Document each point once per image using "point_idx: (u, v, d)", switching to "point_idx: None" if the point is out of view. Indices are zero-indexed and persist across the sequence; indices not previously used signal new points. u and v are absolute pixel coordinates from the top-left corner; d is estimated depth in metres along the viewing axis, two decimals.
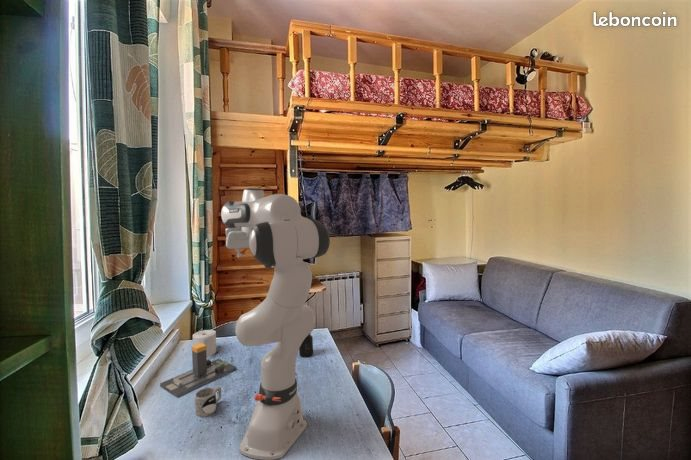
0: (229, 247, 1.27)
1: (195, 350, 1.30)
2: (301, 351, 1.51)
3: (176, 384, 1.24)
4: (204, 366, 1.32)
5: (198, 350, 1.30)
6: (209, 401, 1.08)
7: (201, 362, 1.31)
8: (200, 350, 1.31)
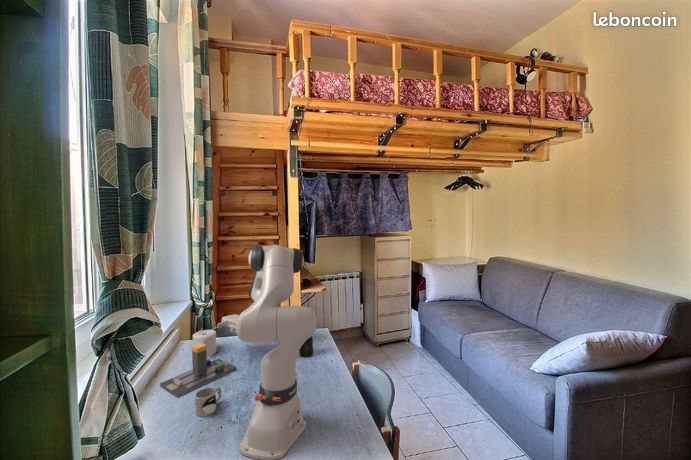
0: (223, 317, 1.51)
1: (195, 350, 1.30)
2: (301, 351, 1.51)
3: (176, 384, 1.24)
4: (204, 366, 1.32)
5: (198, 350, 1.30)
6: (209, 401, 1.08)
7: (201, 362, 1.31)
8: (200, 350, 1.31)
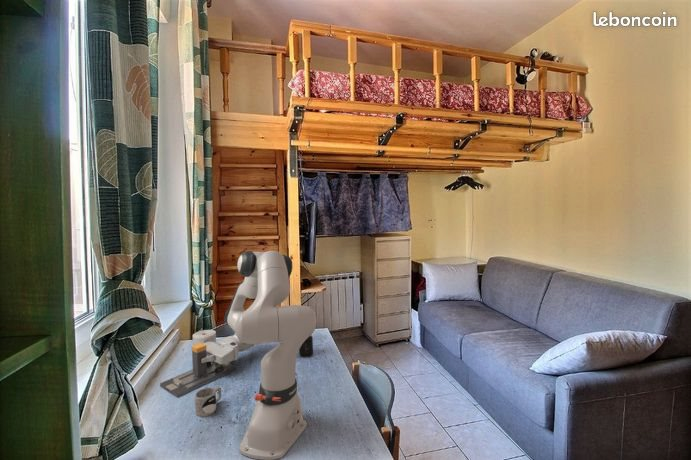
0: None
1: (195, 350, 1.30)
2: (301, 351, 1.51)
3: (176, 384, 1.24)
4: (204, 366, 1.32)
5: (198, 350, 1.30)
6: (209, 401, 1.08)
7: None
8: (200, 350, 1.31)
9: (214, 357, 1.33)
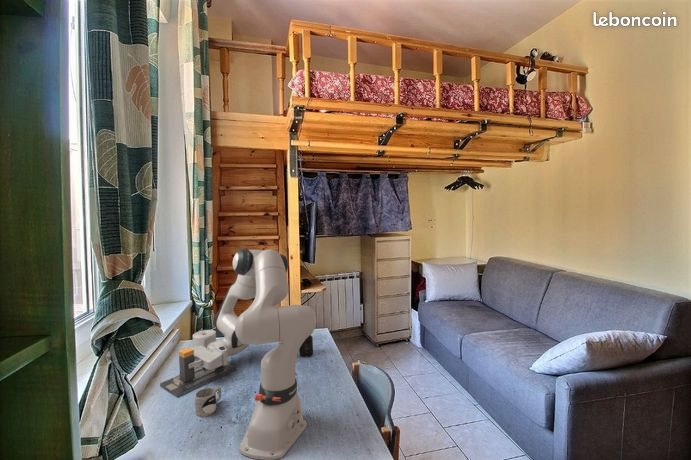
0: None
1: (182, 355, 1.26)
2: (301, 351, 1.51)
3: (176, 384, 1.24)
4: (192, 371, 1.28)
5: (185, 355, 1.26)
6: (209, 401, 1.08)
7: None
8: (187, 355, 1.26)
9: (202, 362, 1.29)
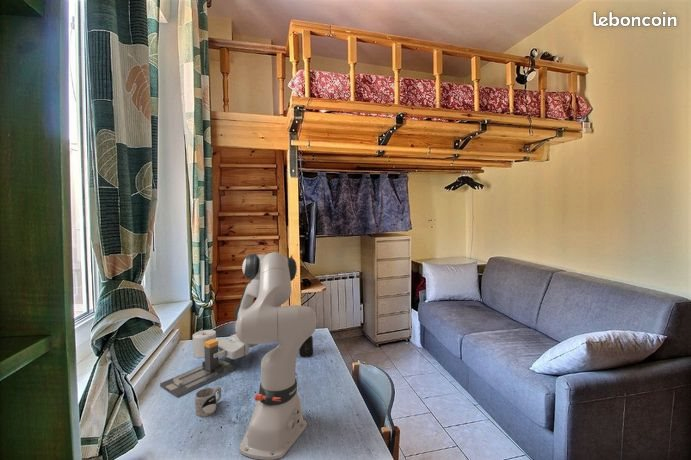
0: None
1: (208, 345, 1.34)
2: (301, 351, 1.51)
3: (176, 384, 1.24)
4: (216, 361, 1.37)
5: (210, 345, 1.34)
6: (209, 401, 1.08)
7: (213, 357, 1.36)
8: (212, 345, 1.35)
9: (225, 352, 1.38)
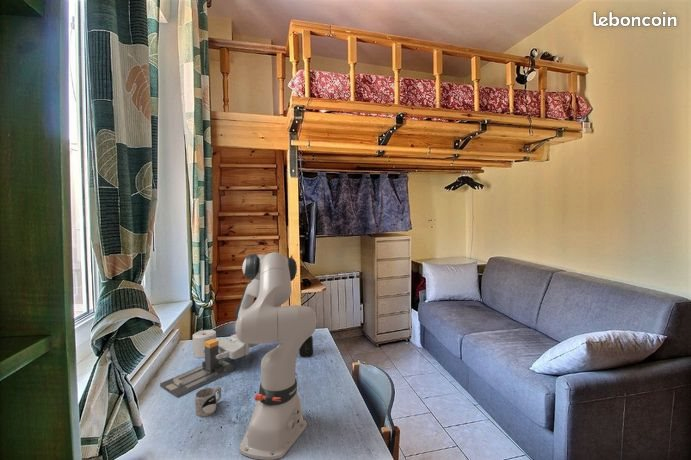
0: None
1: (208, 345, 1.35)
2: (301, 351, 1.51)
3: (176, 384, 1.24)
4: (216, 361, 1.37)
5: (211, 345, 1.35)
6: (209, 401, 1.08)
7: (213, 356, 1.36)
8: (212, 345, 1.35)
9: None
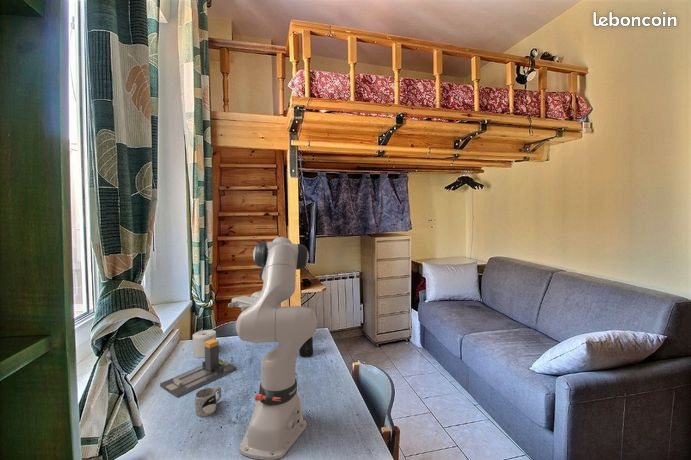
0: (233, 298, 1.56)
1: (208, 345, 1.35)
2: (301, 351, 1.51)
3: (176, 384, 1.24)
4: (216, 361, 1.37)
5: (211, 345, 1.35)
6: (209, 401, 1.08)
7: (213, 356, 1.36)
8: (212, 345, 1.35)
9: None
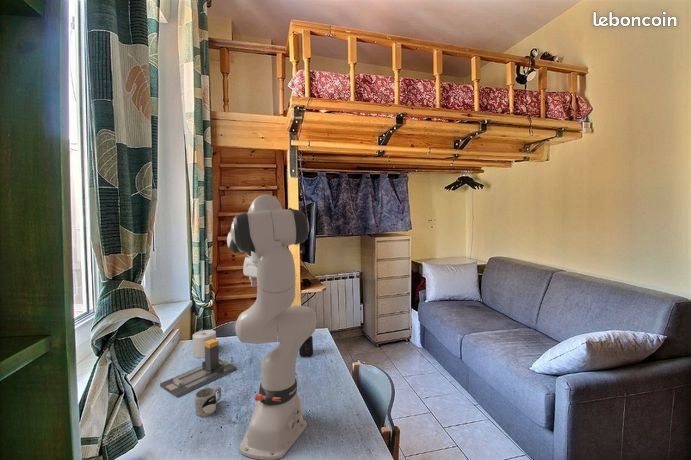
0: (244, 274, 1.40)
1: (208, 345, 1.35)
2: (301, 351, 1.51)
3: (176, 384, 1.24)
4: (216, 361, 1.37)
5: (211, 345, 1.35)
6: (209, 401, 1.08)
7: (213, 356, 1.36)
8: (212, 345, 1.35)
9: None
